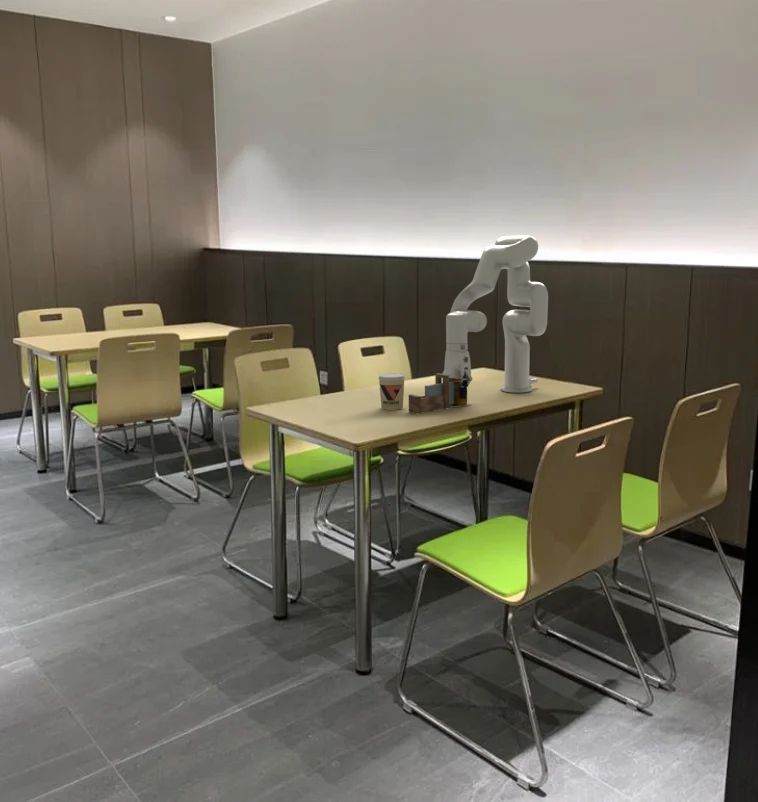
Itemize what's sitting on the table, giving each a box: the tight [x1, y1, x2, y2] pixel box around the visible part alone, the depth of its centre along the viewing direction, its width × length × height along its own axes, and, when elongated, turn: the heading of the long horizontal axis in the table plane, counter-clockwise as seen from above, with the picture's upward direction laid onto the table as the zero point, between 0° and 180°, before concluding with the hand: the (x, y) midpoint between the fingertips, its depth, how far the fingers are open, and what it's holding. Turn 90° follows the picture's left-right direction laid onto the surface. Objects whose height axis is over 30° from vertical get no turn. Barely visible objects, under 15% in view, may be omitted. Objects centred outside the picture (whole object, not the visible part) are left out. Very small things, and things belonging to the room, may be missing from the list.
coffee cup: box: [378, 372, 406, 411], centre depth 283 cm, size 9×9×12 cm
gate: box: [424, 382, 454, 405], centre depth 281 cm, size 12×2×8 cm, turn 125°
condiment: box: [449, 377, 472, 408], centre depth 286 cm, size 7×8×12 cm
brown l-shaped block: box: [408, 372, 450, 414], centre depth 278 cm, size 14×6×12 cm, turn 125°
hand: (457, 396), depth 286 cm, fingers closed on condiment, 6 cm apart
